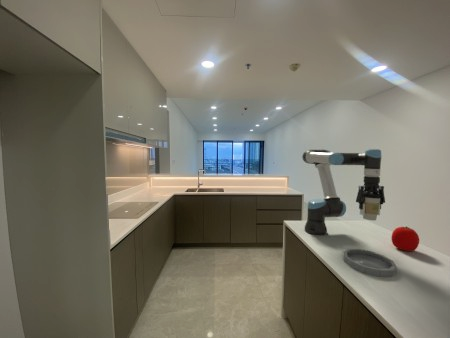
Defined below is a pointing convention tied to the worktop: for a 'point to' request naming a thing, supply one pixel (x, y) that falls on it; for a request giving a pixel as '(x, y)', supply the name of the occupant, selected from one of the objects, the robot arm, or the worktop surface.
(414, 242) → the tomato
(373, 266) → the tray
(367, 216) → the coffee cup
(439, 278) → the worktop surface
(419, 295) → the worktop surface
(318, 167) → the robot arm
